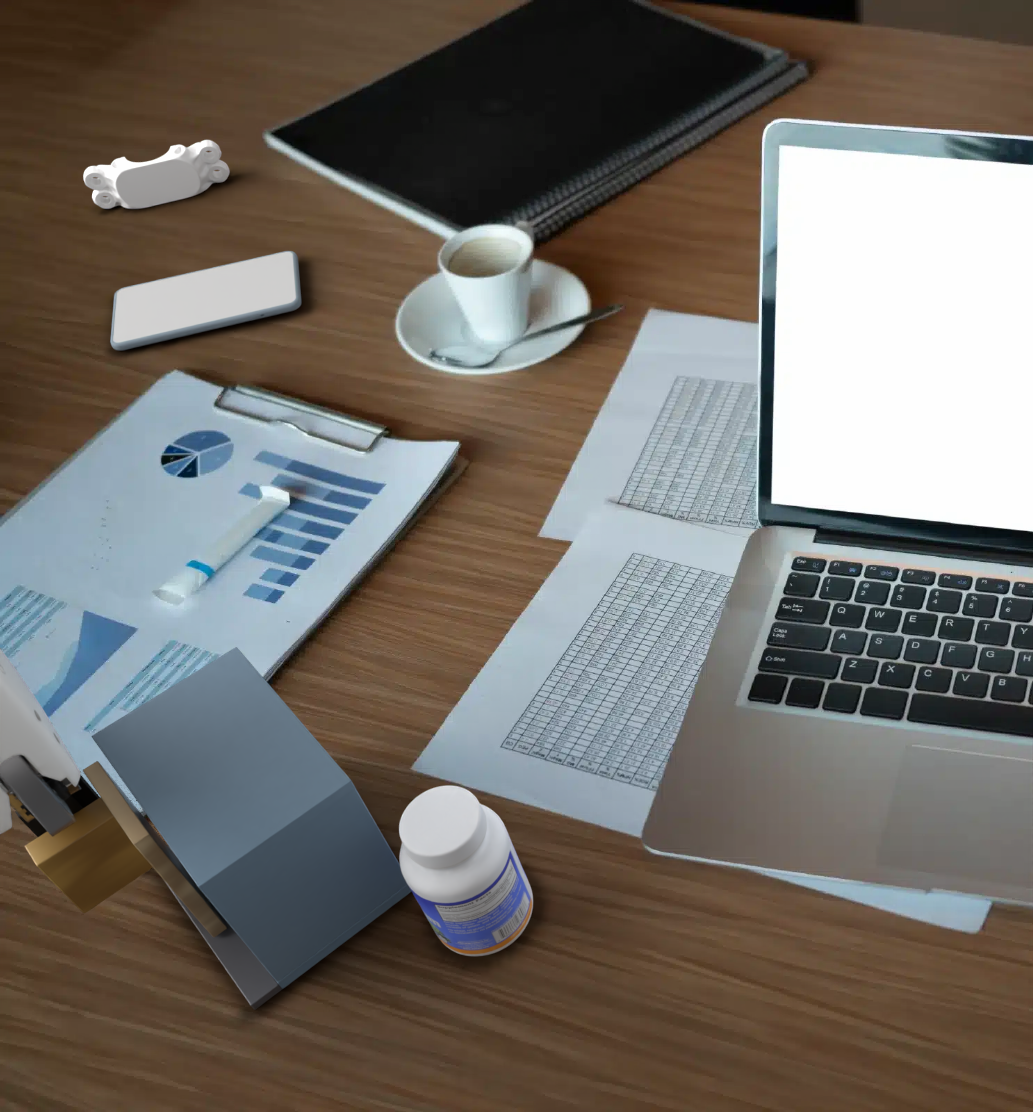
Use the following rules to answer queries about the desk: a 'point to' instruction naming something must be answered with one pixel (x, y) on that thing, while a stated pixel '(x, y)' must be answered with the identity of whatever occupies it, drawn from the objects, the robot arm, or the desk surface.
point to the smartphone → (205, 300)
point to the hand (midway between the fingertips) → (80, 828)
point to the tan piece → (114, 853)
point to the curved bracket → (157, 177)
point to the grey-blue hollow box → (255, 822)
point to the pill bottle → (464, 871)
